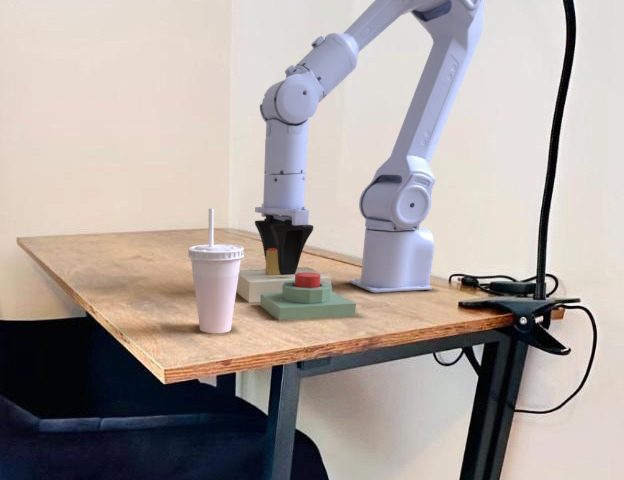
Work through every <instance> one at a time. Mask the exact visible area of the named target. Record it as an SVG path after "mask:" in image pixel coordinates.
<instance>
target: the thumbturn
mask: <svg viewBox="0 0 624 480" xmlns="http://www.w3.org/2000/svg"><path fill="white" fill-rule="evenodd" d="M265 269H266V274H267V275H280V272H279V267H278V254H277V249H275V248H268V250H267V251H266V260H265Z"/></svg>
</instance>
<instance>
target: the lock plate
mask: <svg viewBox="0 0 624 480" xmlns="http://www.w3.org/2000/svg"><path fill="white" fill-rule="evenodd" d="M301 272H312V273H318V274H320V275H321V276H320V281H321V282H327V283H329V284H331V285H332V277H331V276H329V275H326V274H325V273H323V272H320V271H318V270H315V269H313V268H311V267H309V266H302V267H299V266H298V267H297V270H296V273H301ZM296 273H295V274H296ZM295 274H293V275H281V274H280V275H267V274H266V268H262V269H261V268H259V269H244V270H243V269H242V270H241V269H239V276H238V283H237V290H236V294H238V295H239V296H241V297H242V298H243V299H244V300H245V301H246V302H247V303H260V298H261V294H269V293H282V287H283V284H284V283H285V282H290V281H295Z"/></svg>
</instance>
